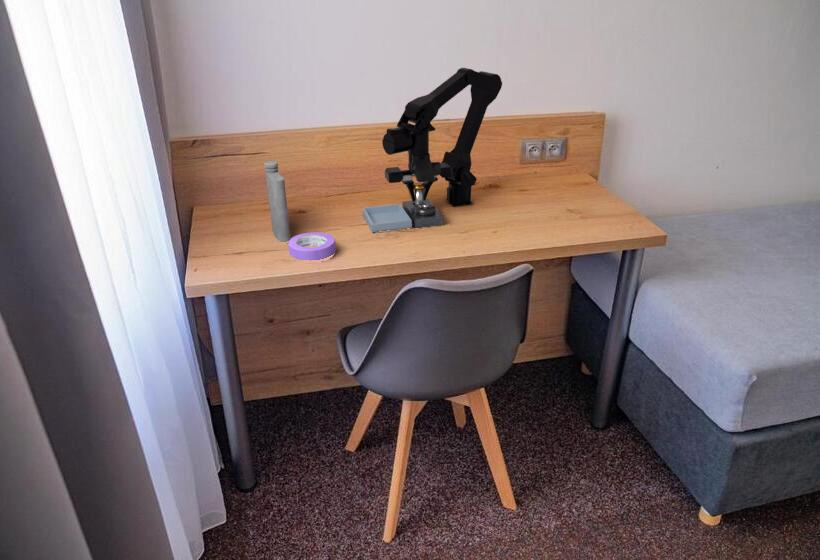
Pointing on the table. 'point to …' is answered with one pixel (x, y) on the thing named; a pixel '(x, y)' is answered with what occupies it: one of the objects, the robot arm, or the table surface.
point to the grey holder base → (423, 214)
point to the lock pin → (419, 193)
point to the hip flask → (277, 201)
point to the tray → (387, 218)
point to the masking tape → (309, 239)
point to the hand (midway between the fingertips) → (418, 200)
